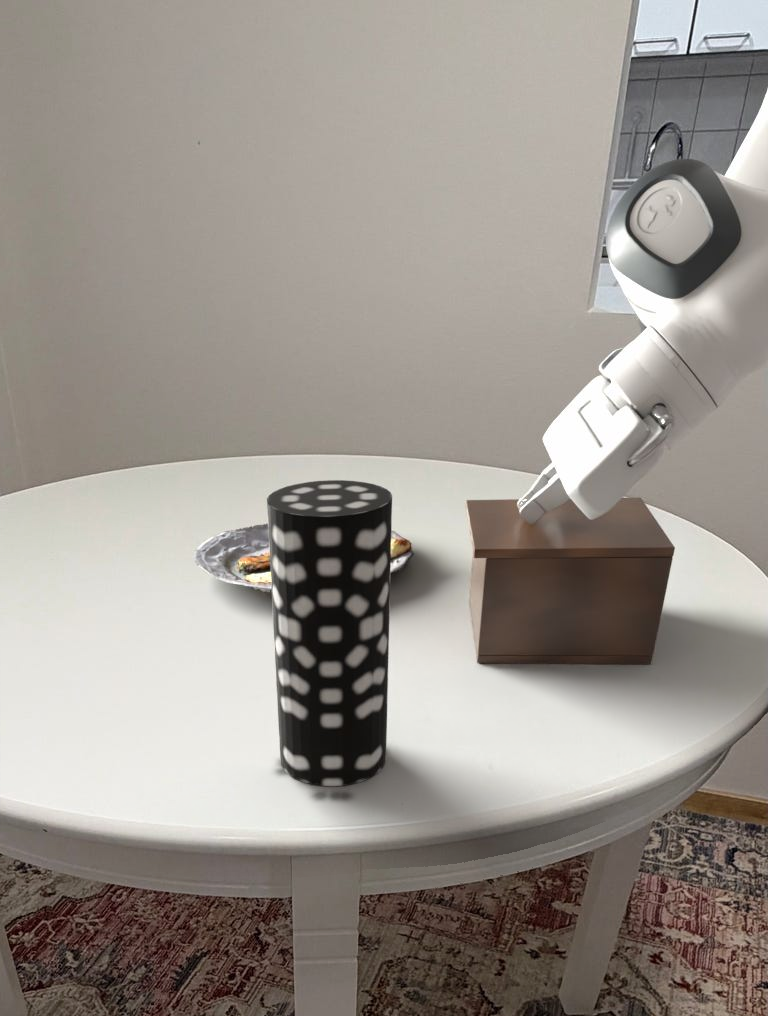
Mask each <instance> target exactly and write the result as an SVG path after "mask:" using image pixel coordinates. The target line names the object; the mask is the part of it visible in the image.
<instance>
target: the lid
mask: <svg viewBox="0 0 768 1016" xmlns="http://www.w3.org/2000/svg"><path fill="white" fill-rule="evenodd" d="M520 499H521V498H518V499H515V498H514V499H513V498H512V499H511V498H510V499H509V498H507V499H466V500H465V512H466V517H467V523H468V529H469V535H470V542H471V547H472V555H473V554H474V558H568V557H672V558H673V557H674V555H675V549H676V547H675V546H674V544H673V543H672V541H671V540H670V538H669V537H668V535H667V534H666V532H665V531H664V529H663V528H662V526H661V525H660V523H659V522H658V520H657V519H656V518H655V516H654V515H653V513H652V512H651V511H650V509H649V507H648V506H647V505H646V503H645V502H644V500H643V499H642V497H623V498H622V499H621V500H620V501H619V502H618V503H617V504H616V505H615V506H613V507H612V508H611V509H610V510H609V511H608V512H607V513H605V514H603V515H602V516H600V517H598V518H596V519H593V520H590V519H589V518H588V517H587V516H586V515H585V514H584V513H583V512H582V511H581V510H580V509H579V508H578V507H577V505H576V504H575V503H574V502H573V501H572V500H571V498H570V499H569V500H568V501H566V502H565V503H564V504H562V505H560V506H558V507H557V508H555V509H553V510H551V511H549V512H547V513H546V514H544V515H543V516H542V517H541V518H540V519H539V520H538V521H537V522H536V523H534V524H532V525H530V524H528V523H527V522H526V521H525V520H524V519H523V518H522V517H521V516H520V512H519V508H518V505H517V503H518V501H519V500H520Z"/></svg>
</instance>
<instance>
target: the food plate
mask: <svg viewBox="0 0 768 1016" xmlns="http://www.w3.org/2000/svg"><path fill="white" fill-rule="evenodd" d="M412 548H413V547H412V542H411V541H410V540H409V539H407V538H404V537H402V536H401V535H400V534H399V533H397V532H396V531H395V530H392V529H391V570H390V574H392V573H396V572H400V571H401V570H403V569H404V568H405V567H407V566H408V564H409V562H410V561H411V559H412V558H413V557H414V556H415V553H414V551H413V549H412ZM192 555H193V559H194V562H195V563H196V565H197V566H198V567H199V568H200V569H201V570H202V571H203V572H204V571H205V573H206V574H208V575H210V576H212V577H213V578H215V579H217V580H218V581H220V582H223V583H227V584H231V585H233V584H234V585H240V586H244V587H251V588H253V589H254V590H255V591H256V590H260V591H261V592H263V593H272V588H271V569H270V550H269V531H268V523H263V524H255V525H250V526H246V527H241V528H237V529H236V528H235V529H231V530H226V531H225V530H224V532H222V533H218V534H216V535H213V536H211V537H210V538H208V539H207V540H204V541H203V543H201V545H199V546H198V547H197V548H196V549H195V551H194V552H193V554H192Z"/></svg>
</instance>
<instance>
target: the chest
mask: <svg viewBox="0 0 768 1016" xmlns="http://www.w3.org/2000/svg"><path fill="white" fill-rule="evenodd" d="M471 558H472V559H471V570H470V584H469V598H468V606H469V607H468V608H469V615H470V621H471V627H472V628H471V629H472V637H473V642H474V651H475V656H476V657H475V658H476V664H556V665H557V664H560V665H561V664H563V665H564V664H567V665H569V664H572V665H573V664H575V665H576V664H577V665H578V664H579V665H584V664H585V665H652V663H653V658H654V653H655V648H656V643H657V638H658V634H659V628H660V624H661V620H662V619H661V618H662V613H663V608H664V605H665V604H664V603H665V599H666V593H667V590H668V589H667V588H668V583H669V579H670V575H671V570H672V569H671V568H672V563H673V559H674V558H673V557H568V558H474V554H473V553H472V557H471Z"/></svg>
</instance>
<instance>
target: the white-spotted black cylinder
mask: <svg viewBox="0 0 768 1016" xmlns="http://www.w3.org/2000/svg"><path fill="white" fill-rule="evenodd" d="M266 507H267V508H266V510H267V511H266V512H267V524H268V531H269V550H270V569H271V588H272V590H271V606H272V624H273V641H274V643H273V645H274V646H273V647H274V663H275V680H276V681H275V682H276V683H275V684H276V701H277V703H276V704H277V720H278V739H279V758H280V759H279V760H280V765H281V768H282V769H283V771H285V772H286V774H287V775H289V776H290V777H292V778H293V779H296V780H297V781H300V782H302V783H307V784H309V785H314V786H322V787H326V786H327V787H339V786H348V785H354V784H357V783H361V782H364V781H366V780H368V779H370V778H372V777H374V776H375V775H377V774H378V773H379V772H380V771H381V770H382V769H383V768H384V767H385V764H386V762H387V739H388V738H387V734H388V693H389V692H388V691H389V654H390V653H389V651H390V650H389V649H390V648H389V647H390V646H389V645H390V613H391V612H390V609H391V608H390V607H391V573H390V570H391V530H392V526H393V525H392V524H393V523H392V522H393V494H392V492H391V491H390V490H388V489H387V488H385V487H383V486H380V485H377V484H375V483H371V482H365V481H359V480H346V479H345V480H341V479H333V480H331V479H328V480H315V481H306V482H301V483H295V484H291V485H287V486H285V487H282V488H279V489H276V490H275V491H273V492H271V493H270V494H269V495H268V496H267V498H266Z"/></svg>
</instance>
